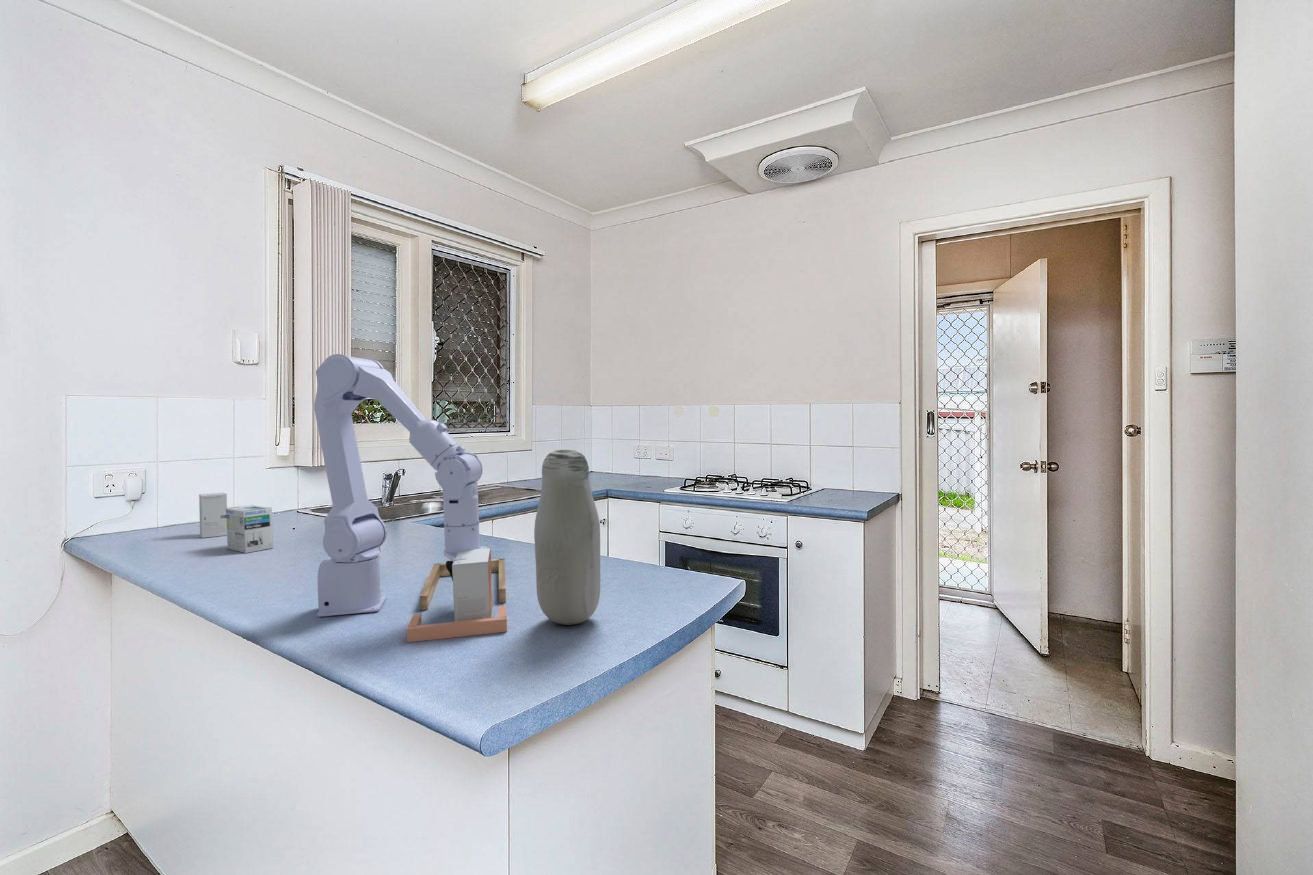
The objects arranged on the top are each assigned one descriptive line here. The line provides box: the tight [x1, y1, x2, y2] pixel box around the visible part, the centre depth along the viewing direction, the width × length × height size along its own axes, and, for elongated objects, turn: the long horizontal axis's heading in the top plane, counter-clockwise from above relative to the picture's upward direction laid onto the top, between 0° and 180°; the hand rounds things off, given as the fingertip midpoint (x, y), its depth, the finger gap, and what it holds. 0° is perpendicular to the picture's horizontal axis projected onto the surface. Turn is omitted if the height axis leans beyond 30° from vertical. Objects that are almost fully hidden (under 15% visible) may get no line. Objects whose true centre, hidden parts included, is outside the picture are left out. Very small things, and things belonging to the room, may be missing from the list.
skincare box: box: [198, 492, 228, 539], centre depth 165 cm, size 6×4×12 cm
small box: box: [452, 547, 493, 622], centre depth 95 cm, size 8×6×10 cm
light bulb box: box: [226, 504, 275, 554], centre depth 149 cm, size 11×7×11 cm, turn 58°
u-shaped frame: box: [419, 558, 507, 611], centre depth 113 cm, size 14×23×2 cm, turn 15°
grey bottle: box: [533, 449, 601, 626], centre depth 93 cm, size 10×10×28 cm
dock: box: [406, 605, 508, 643], centre depth 91 cm, size 14×7×2 cm, turn 105°
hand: (464, 601), depth 100 cm, fingers closed, pressing on small box
